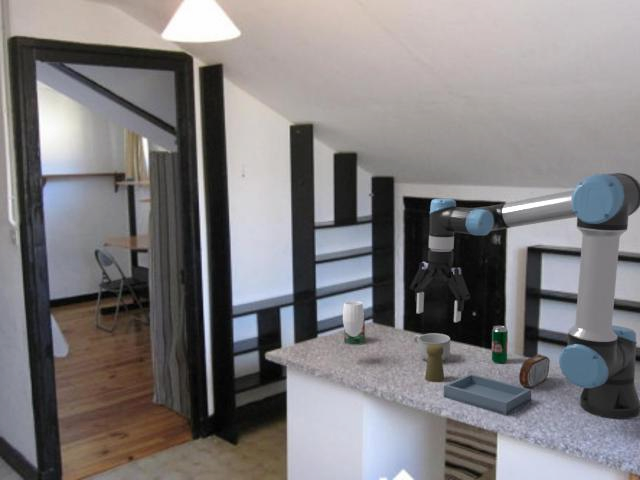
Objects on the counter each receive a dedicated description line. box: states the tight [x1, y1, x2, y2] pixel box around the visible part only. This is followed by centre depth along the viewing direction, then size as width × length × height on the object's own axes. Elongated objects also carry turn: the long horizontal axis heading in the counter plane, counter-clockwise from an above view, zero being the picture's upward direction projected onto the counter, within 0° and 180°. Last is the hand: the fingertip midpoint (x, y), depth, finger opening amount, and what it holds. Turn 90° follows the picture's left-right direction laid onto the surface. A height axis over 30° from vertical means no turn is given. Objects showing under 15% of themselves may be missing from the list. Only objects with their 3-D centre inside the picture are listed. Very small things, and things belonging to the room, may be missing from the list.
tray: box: [443, 373, 532, 416], centre depth 186 cm, size 20×14×4 cm
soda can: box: [491, 325, 509, 364], centre depth 219 cm, size 5×5×12 cm
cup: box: [342, 300, 365, 337], centre depth 220 cm, size 7×7×21 cm
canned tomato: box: [343, 313, 366, 346], centre depth 244 cm, size 8×8×11 cm
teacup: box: [412, 332, 451, 362], centre depth 223 cm, size 14×11×8 cm
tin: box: [518, 353, 551, 389], centre depth 197 cm, size 15×3×8 cm, turn 134°
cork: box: [424, 344, 445, 383], centre depth 203 cm, size 6×6×11 cm
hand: (438, 316), depth 200 cm, fingers open, 13 cm apart
